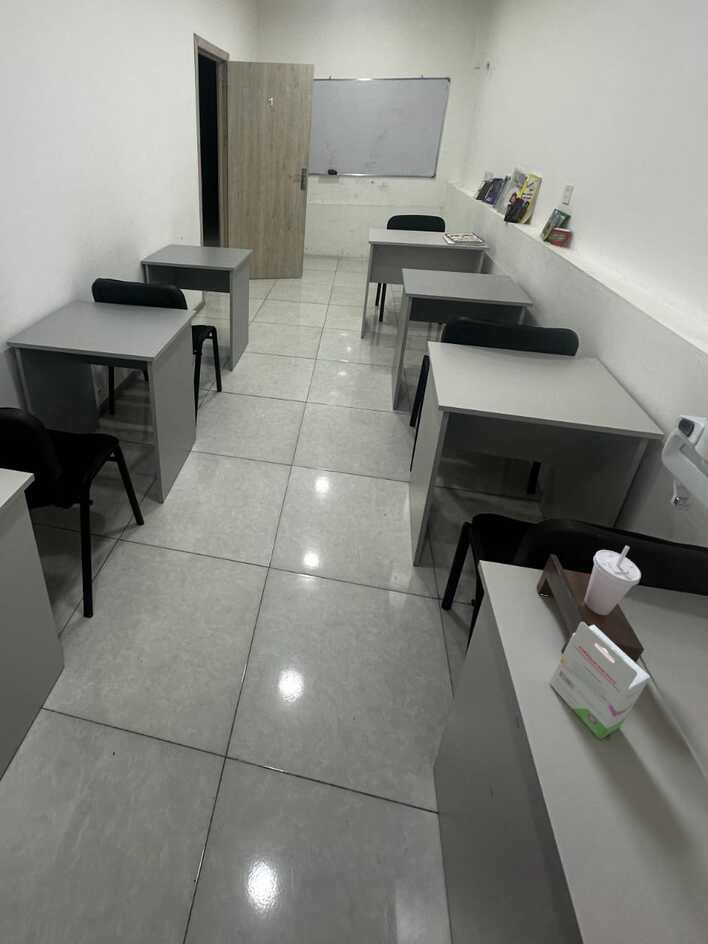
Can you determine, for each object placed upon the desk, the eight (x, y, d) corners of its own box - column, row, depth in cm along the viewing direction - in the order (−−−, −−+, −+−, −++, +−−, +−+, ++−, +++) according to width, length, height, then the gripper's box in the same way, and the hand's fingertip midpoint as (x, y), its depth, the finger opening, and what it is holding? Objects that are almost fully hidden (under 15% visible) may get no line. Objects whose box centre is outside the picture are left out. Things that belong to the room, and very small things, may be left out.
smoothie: (571, 603, 83) (600, 543, 77) (581, 582, 87) (609, 524, 81) (614, 630, 79) (648, 568, 73) (622, 606, 83) (655, 547, 77)
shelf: (591, 599, 91) (608, 564, 87) (629, 673, 78) (652, 636, 75) (535, 588, 92) (550, 553, 89) (564, 659, 80) (583, 622, 76)
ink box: (621, 728, 71) (663, 664, 65) (599, 741, 69) (639, 676, 63) (568, 671, 78) (601, 608, 72) (546, 681, 76) (578, 618, 70)
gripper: (840, 509, 54) (780, 595, 60) (717, 415, 73) (680, 488, 78) (776, 500, 55) (723, 585, 61) (671, 409, 74) (637, 481, 79)
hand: (698, 529), depth 70 cm, fingers open, 8 cm apart
